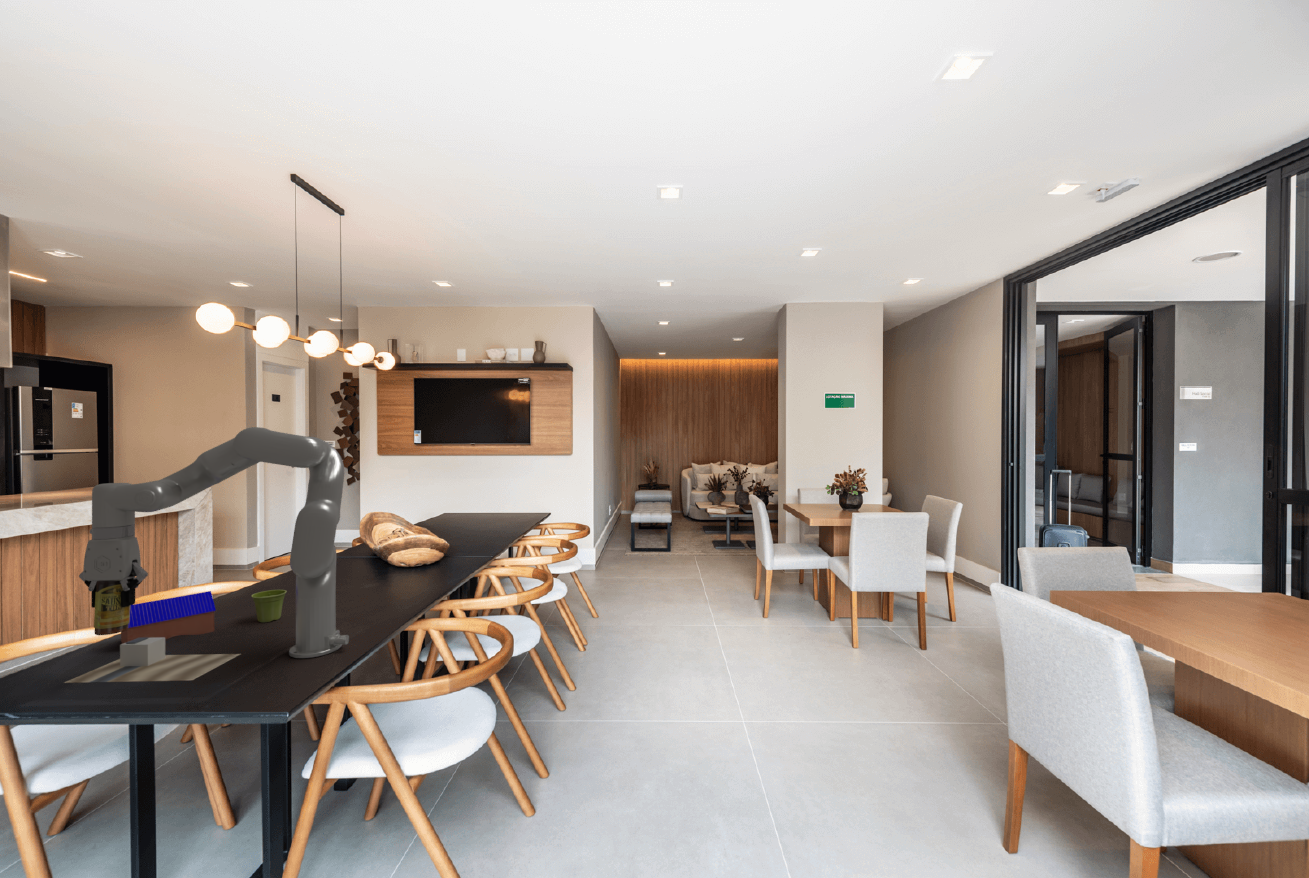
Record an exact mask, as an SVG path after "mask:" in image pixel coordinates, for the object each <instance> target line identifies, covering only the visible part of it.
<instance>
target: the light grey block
mask: <svg viewBox="0 0 1309 878" xmlns="http://www.w3.org/2000/svg"><path fill="white" fill-rule="evenodd" d="M119 655H120V656H119V659H120V666H149V665H151V664H153V663H155V662H158V661H160V660H162V659H164V658H165V655H166V640H165V637H156V638H148V637H139V638H136V639H134V640H131V641H129V642H126V643H124V644H123V643H121V644H119Z"/></svg>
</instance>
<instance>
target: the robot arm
mask: <svg viewBox="0 0 1309 878" xmlns="http://www.w3.org/2000/svg"><path fill="white" fill-rule="evenodd" d="M259 463H265V464H266V463H267V464H271V465H279V466H285V467H292V468H301V469H309V479H308V482H307V483H308V484H307V493H306V499H305V502H304V503H305V504H304V506H303V507H302V508H301V509H300V511H299V512H298V514H297V516H296V519H295V523H294V530H293V536H292V537H293V538H292V543H291V550H290V555H289V556H290V557H289V566H290V569H291V571H292V572H293V574H294V575H295V645H293V646H291V647H290V648H289V649H288V650H289V651H288V655H289V656H290V657H292V658H295V659H309V658H310V659H311V658H315V657H321V656H325V655H328V654H331V653H334V652H336V651H337V650H339V649H340V648H342V645H348V644H349V641H350V636H349V635H348V634H340V629H337V627H336V626H337V625H336V624H337V623H336V622H337V621H336V619H337V618H336V617H337V615H336V612H337V611H336V610H337V607H336V605H337V603H336V602H337V600H336V599H337V598H336V593H337V592H336V590H337V589H336V588H337V585H336V584H337V583H336V582H337V579H336V578H337V560H338V559H337V548H336V546H335V539H336V534H337V533H336V532H337V526H338V524H339V522H340V520H341V519H340V518H341V508H342V507H341V505H342V499H343V498H342V497H343V491H344V490H343V488H344V482H345V465H344V462H343V458H342V456H341V455H340V453H339V452H338V450H337V449H336V448H335V447H334V446H332V445H331V444H330V443H328V442H327V441H325V440H324V439H322V438H319V437H317V436H316V437H315V436H305V435H299V434H292V433H288V432H281V431H276V430H270V429H268V428H265V427H259V426H258V427H257V426H253V427H252V426H251V427H247V428H245V429H243V430H240V431H239V432H238V433H237V434H236V435H235V437H233V438H231V439H229V440H227V441H225V442H222V443H221V444H219V445H217V446H214V447H212V448H211V449H208V450H206V451H204V452H202V453H201V454H200V455H198V456H197V458H196V459H195V460H194V461H193V462H192V463H190V464H189V465H187V466H186V467H183V468H182V469H179V470H178V471H176V472H173V473H172V474H169V475H167V476H165V477H163V478H161V479H159V480H153V481H148V482H141V483H133V484H132V483H129V482H109V483H100V484H96V485H95V486H94V487H92V489H91V529H89V534H91V539H89V540H88V542H87V545H86V548H85V553H84V558H83V569H82V572H80V573H79V575H78V578H79V579H80V580H81V581H83V582H84V585H86V586H87V588H88V591H89V592H91V603H90V604H91V608H92V609H93V608H94V609H95V596H96V589H97V581H120V583H121V585H122V587H123V590H124V591H121V607H127V606H130V605H134V604H136V589H138V588H139V585H140V584H142V582H143V581H144V580H145V579H146V578H147V577H148V576H149V572H147V571H146V569H144V567H142V562H141V560H142V559H141V550H140V546H139V545H140V544H139V541H138V537H136V512H137V513H154V512H158V511H160V510H161V511H162V510H165V509H167V508H171V507H173V506H175V505H176V506H177V505H178V504H180V503H182V502H183V501H185V500H188V499H189V498H192V497H194V496H196V495H198V494H199V493H201V492H203V491H206V490H207V489H208V488H211V487H213V486H215V485H218V484H220V483H222V482H223V481H225V480H227V479H229V478H232V477H233V476H235V475H237V474H239V473H241V472H243V471H244V470H246V469H249V468H251V467H253V466H255V465H256V464H259ZM127 580H129V582H130V583H129V584H128V581H127Z"/></svg>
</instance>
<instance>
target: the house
mask: <svg viewBox="0 0 1309 878" xmlns="http://www.w3.org/2000/svg"><path fill="white" fill-rule="evenodd" d="M213 598H214V597H213V594H212V591H211V590H209V591H204V592H198V593H192V594H186V595H180V596H174V597H168V598H163V599H159V600H153V601H152V600H151V601H146V602H141V603H135V604H133V605H130V623H129V624H128V628H127V630H126V631H123V632H120V642H121V644H124V643H126V642H129V641H131V640H134V639H136V638H139V637H148V638H156V637H165V641H166V640H169V639H171V638H173V637H177V636H191V635H192V636H195V635H196V636H197V635H199V636H200V635H204V634H209V633H213V632H215V611H217V609H216V606H215V602H214V599H213Z"/></svg>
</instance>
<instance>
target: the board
mask: <svg viewBox="0 0 1309 878" xmlns="http://www.w3.org/2000/svg"><path fill="white" fill-rule="evenodd" d="M240 655H241V653H221V654H220V653H217V654H216V653H215V654H214V653H212V654H210V653H209V654H204V653H203V654H165V658H164V659H162V660H160V661H158V662H155V663H153V664H151V665H149V666H120V658H118V659H116V660H114V661H112V662H109V663H107V664H104V665H102V666H99V667H97V668H94V669H93V670H90V671H88V672H86V673H83V674H81V675H79V676H76V677H74V678H71V679H69V680H66V681H64V682H63V684H71V683H72V684H74V683H77V684H78V683H79V684H80V683H81V684H82V683H83V684H84V683H123V682H124V683H125V682H126V683H127V682H129V683H131V682H172V681H173V682H177V681H178V682H179V681H180V682H182V681H187V682H189V681H194V680H195V679H197V678H199V677H201V676H204V675H205V674H207V673H209V672H210V671H212V670H214V669H216V668H218V667H220V666H222V665H223V664H226V663H227V662H229V661H231V660H233V659H235V658H237V657H238V656H240Z"/></svg>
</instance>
